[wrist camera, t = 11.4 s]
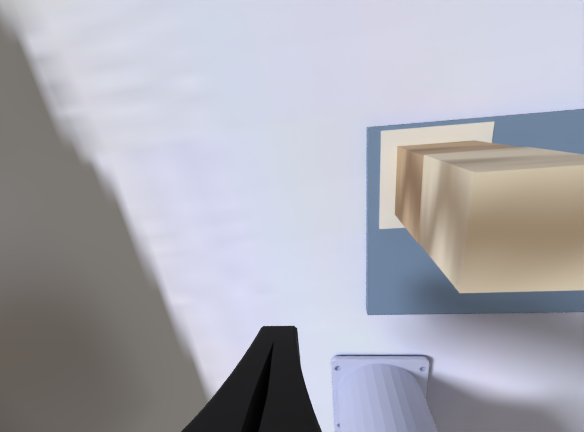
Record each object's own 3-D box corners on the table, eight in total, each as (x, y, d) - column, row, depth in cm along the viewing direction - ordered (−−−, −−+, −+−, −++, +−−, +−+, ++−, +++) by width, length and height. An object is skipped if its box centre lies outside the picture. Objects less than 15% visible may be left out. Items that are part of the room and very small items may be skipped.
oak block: (465, 210, 18) (510, 238, 14) (394, 214, 19) (417, 242, 15) (474, 140, 17) (527, 148, 13) (397, 146, 17) (423, 155, 13)
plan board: (579, 306, 21) (588, 312, 20) (366, 310, 22) (368, 315, 22) (641, 104, 16) (654, 103, 15) (366, 127, 18) (368, 127, 17)
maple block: (511, 238, 14) (594, 289, 10) (418, 242, 15) (459, 293, 10) (527, 146, 13) (634, 161, 8) (423, 154, 13) (475, 172, 9)
